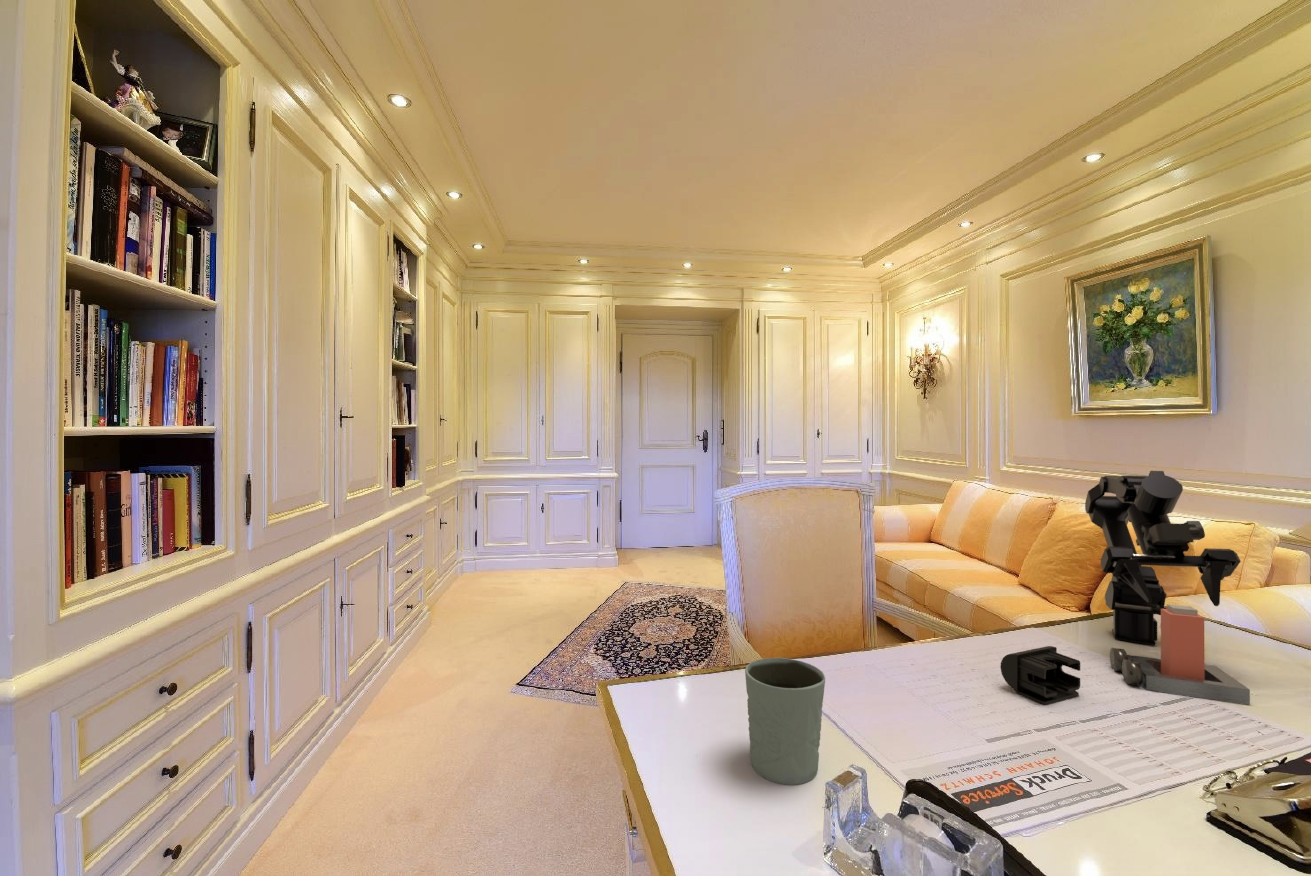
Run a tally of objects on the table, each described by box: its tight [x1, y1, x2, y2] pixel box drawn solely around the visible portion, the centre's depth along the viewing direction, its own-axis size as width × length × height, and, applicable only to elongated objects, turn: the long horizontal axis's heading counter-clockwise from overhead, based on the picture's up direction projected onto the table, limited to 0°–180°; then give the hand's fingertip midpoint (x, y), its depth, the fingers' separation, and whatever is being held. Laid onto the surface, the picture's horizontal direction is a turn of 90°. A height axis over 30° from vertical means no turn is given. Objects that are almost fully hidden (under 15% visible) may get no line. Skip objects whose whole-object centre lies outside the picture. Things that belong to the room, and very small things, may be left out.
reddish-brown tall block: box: [1160, 603, 1205, 680], centre depth 95 cm, size 4×4×14 cm
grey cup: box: [744, 657, 826, 786], centre depth 71 cm, size 10×10×12 cm
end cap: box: [999, 645, 1081, 706], centre depth 92 cm, size 10×7×7 cm
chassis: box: [1109, 647, 1251, 706], centre depth 95 cm, size 10×15×4 cm, turn 66°
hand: (1182, 603), depth 97 cm, fingers open, 9 cm apart
